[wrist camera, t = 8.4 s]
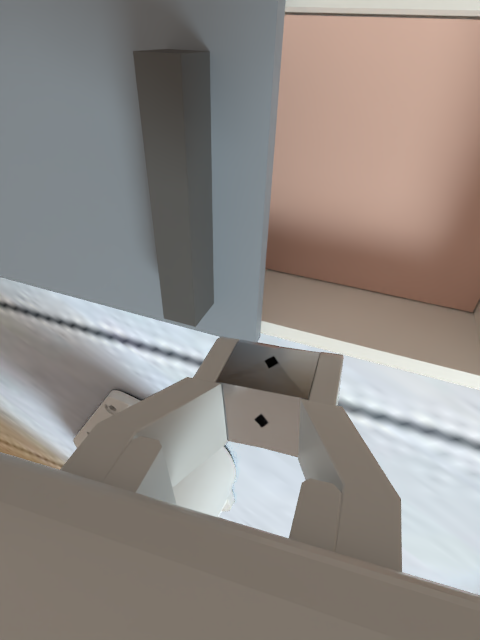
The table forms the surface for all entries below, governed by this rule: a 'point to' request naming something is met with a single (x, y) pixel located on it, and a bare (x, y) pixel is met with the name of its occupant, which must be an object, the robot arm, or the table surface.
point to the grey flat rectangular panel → (141, 154)
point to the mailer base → (378, 185)
